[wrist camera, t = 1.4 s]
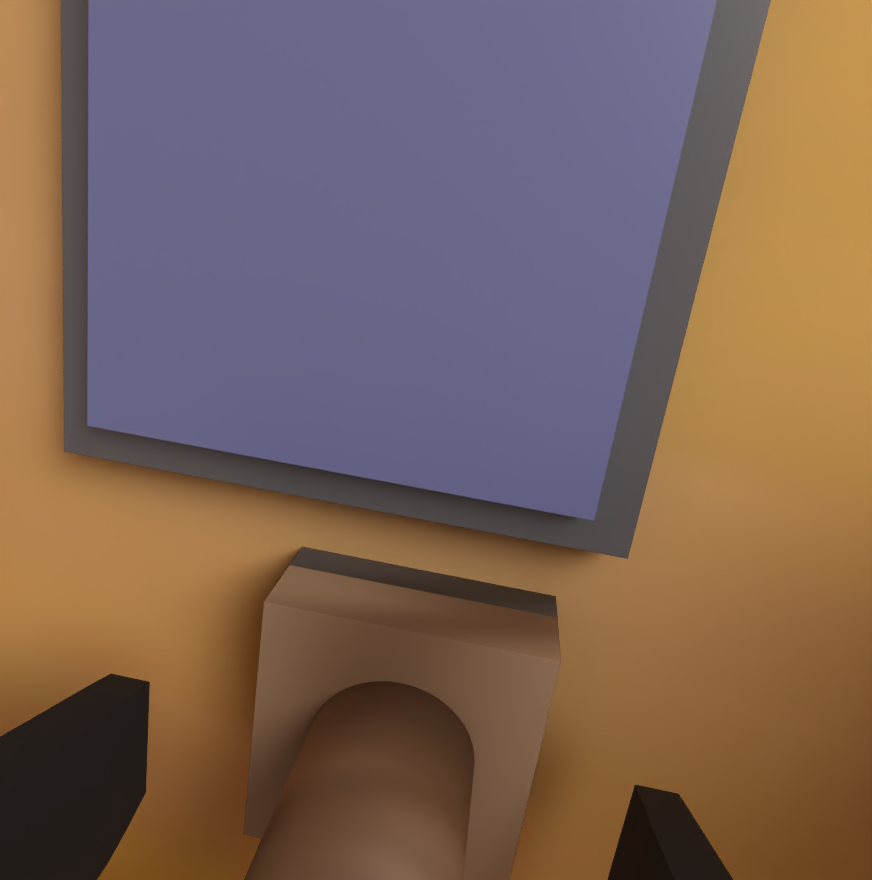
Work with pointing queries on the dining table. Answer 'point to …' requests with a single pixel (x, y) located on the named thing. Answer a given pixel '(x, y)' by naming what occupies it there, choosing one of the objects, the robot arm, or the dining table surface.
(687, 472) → the dining table surface
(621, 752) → the dining table surface
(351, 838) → the stamp
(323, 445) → the ink pad
